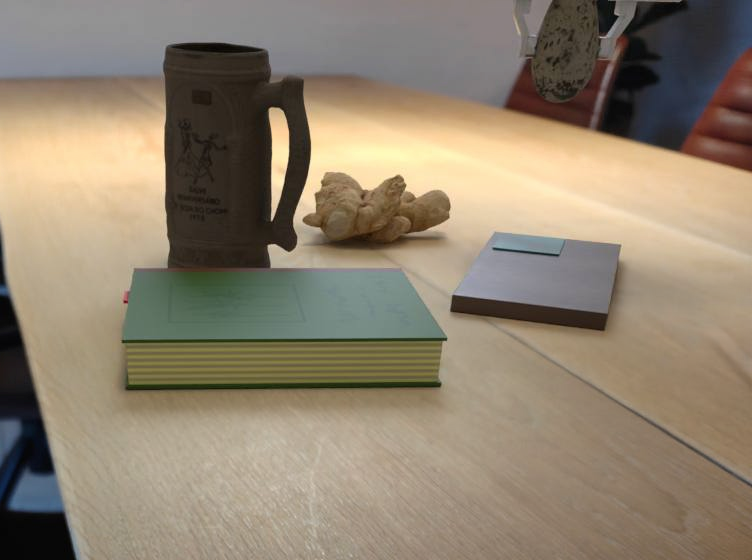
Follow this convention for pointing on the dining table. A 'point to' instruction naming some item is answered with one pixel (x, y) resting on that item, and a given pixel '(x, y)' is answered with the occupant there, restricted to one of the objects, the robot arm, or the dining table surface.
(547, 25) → the decorative egg
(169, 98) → the beer stein
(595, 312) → the serving board
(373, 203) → the ginger root
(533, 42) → the robot arm
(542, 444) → the dining table surface
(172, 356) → the hardcover book
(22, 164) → the dining table surface
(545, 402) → the dining table surface
